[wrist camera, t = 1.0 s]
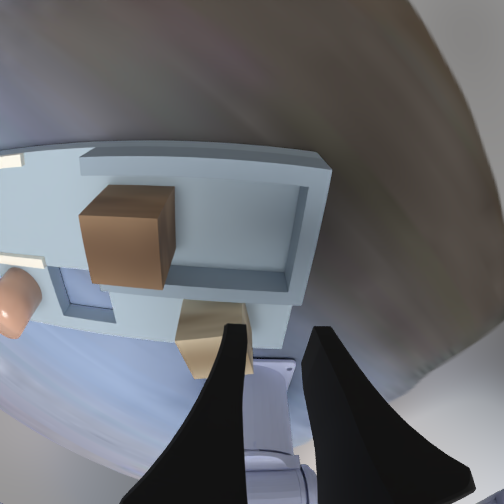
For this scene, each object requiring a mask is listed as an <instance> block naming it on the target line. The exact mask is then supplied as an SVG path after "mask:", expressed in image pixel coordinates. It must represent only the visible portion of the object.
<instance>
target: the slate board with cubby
mask: <svg viewBox="0 0 504 504" xmlns="http://www.w3.org/2000/svg"><path fill="white" fill-rule="evenodd" d="M331 175H332V169H331V168H330V167H329V166H328V164H327V163H326V162H325V161H324V160H323V159H322V158H321V156H320V155H319V154H318V153H317V152H313V151H305V150H297V149H289V148H280V147H270V146H260V145H248V144H235V143H220V142H200V141H167V140H130V141H97V142H79V143H65V144H53V145H42V146H33V147H24V148H16V149H9V150H1V151H0V276H1V278H2V276H3V275H4V274H5V273H6V271H7V270H8V269H9V268H12V267H17V268H21V269H23V270H25V271H26V272H27V273H29V274H30V275H31V276H32V277H33V278H34V279H35V281H36V282H37V283H38V285H39V287H40V289H41V292H42V301H41V303H40V304H39V306H38V307H37V309H36V311H35V312H34V314H33V315H32V317H31V319H30V321H35V322H39V323H44V324H49V325H54V326H59V327H65V328H70V329H76V330H81V331H87V332H93V333H100V334H106V335H113V336H120V337H127V338H135V339H143V340H152V341H161V342H171V343H175V336H176V331H177V326H178V321H179V317H180V312H181V307H182V302H183V299H189V300H203V301H217V302H233V303H245V305H246V309H247V313H248V317H249V321H250V325H251V329H252V347H253V348H263V349H282V345H283V341H284V337H285V333H286V329H287V325H288V321H289V317H290V312H291V308H292V305H296V306H302V302H303V298H304V294H305V290H306V286H307V282H308V278H309V274H310V270H311V266H312V262H313V258H314V253H315V249H316V245H317V240H318V236H319V232H320V227H321V223H322V218H323V213H324V209H325V204H326V199H327V194H328V190H329V185H330V180H331ZM108 185H152V186H175V231H176V250H175V253H174V256H173V259H172V262H171V266H170V269H169V272H168V275H167V278H166V282H165V285H164V288H163V290H154V289H143V288H132V287H122V286H112V285H103V284H99V285H100V289H101V291H105V292H109V295H110V299H111V303H112V308H113V310H112V309H104V308H96V307H89V306H82V305H75V304H70V302H69V299H68V296H67V293H66V289H65V286H64V283H63V280H62V276H61V273H60V269H59V267H63V268H72V269H82V270H89V267H88V263H87V259H86V254H85V249H84V244H83V239H82V234H81V228H80V223H79V217H78V215H79V214H80V213H81V212H82V211H83V210H84V209H85V208H86V207H87V206H88V205H89V204H90V203H91V202H92V200H93V199H94V198H95V197H96V196H97V195H98V194H99V193H100V192H101V191H102V190H103V189H105V188H106V187H107V186H108Z"/></svg>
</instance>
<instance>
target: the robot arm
mask: <svg viewBox="0 0 504 504" xmlns="http://www.w3.org/2000/svg"><path fill="white" fill-rule="evenodd" d="M247 344H248V339H247V326H246V324H233V323H227V324H226V325H224V331H223V336H222V340H221V344H220V347H219V350H218V353H217V356H216V359H215V361H214V364H213V366H212V369H211V371H210V373H209V376H208V378H207V380H206V382H205V384H204V386H203V388H202V390H201V392H200V394H199V396H198V398H197V400H196V402H195V404H194V406H193V407H192V409H191V411H190V413H189V414H188V416H187V418H186V419H185V421H184V422H183V424H182V426H181V427H180V429H179V430H178V432H177V433H176V435H175V436H174V438H173V439H172V440H171V442H170V443H169V445H168V446H167V447H166V449H165V450H164V451H163V453H162V454H161V455H160V456H159V458H158V459H157V460H156V461H155V463H154V464H153V465H152V466H151V467H150V469H149V470H148V471H147V472H146V473H145V475H144V476H143V477H142V478H141V479H140V480H139V481H138V482H137V483H136V484H135V485H134V486H133V487H132V488H131V489H130V490H129V492H128V493H127V494H126V495H125V496H124V497H123V498H122V500H121V502H120V503H119V504H452V503H454V502H456V501H458V500H460V499H462V498H464V497H466V496H467V495H469V494H471V493H473V492H474V491H475V490H476V487H475V484H474V480H473V477H472V474H471V471H470V468H469V467H467V466H465V465H464V464H462V463H460V462H459V461H457V460H455V459H454V458H452V457H450V456H448V455H447V454H445V453H444V452H443V451H441V450H440V449H438V448H437V447H436V446H434V445H433V444H431V443H430V442H429V441H428V440H426V439H425V438H424V437H423V436H422V435H420V434H419V433H418V432H417V431H416V430H414V429H413V428H412V427H411V426H410V425H409V424H407V423H406V421H404V420H403V419H402V418H401V417H400V416H399V415H398V414H397V413H396V411H394V409H393V408H392V407H391V406H390V405H389V404H388V403H387V402H386V401H385V399H384V398H383V397H382V396H381V395H380V394H379V392H378V391H377V390H376V389H375V388H374V386H373V385H372V384H371V383H370V381H369V380H368V379H367V377H366V376H365V375H364V373H363V372H362V371H361V369H360V368H359V367H358V365H357V364H356V362H355V361H354V360H353V358H352V357H351V355H350V354H349V352H348V351H347V350H346V348H345V347H344V345H343V344H342V342H341V341H340V339H339V338H338V336H337V335H336V333H335V332H334V330H333V329H332V328H331V326H314V327H313V330H312V333H311V336H310V339H309V342H308V345H307V348H306V351H305V354H304V357H303V359H302V362H301V366H302V380H303V390H304V395H305V400H306V405H307V410H308V415H309V420H310V425H311V430H312V435H313V440H314V447H315V456H316V470H317V476H316V474H315V472H314V471H313V470H312V469H310V467H309V466H308V465H306V464H301V465H300V460H299V455H294V453H293V444H292V435H291V426H290V417H289V409H288V400H287V390H288V387H289V384H290V381H291V379H292V376H293V373H294V370H295V367H296V362H295V361H294V360H276V359H253V372H254V374H247V375H245V367H246V356H247ZM0 504H3V503H1V502H0ZM476 504H504V489H502V490H501V491H498V492H496V493H494V494H493V495H491V496H489V497H487V498H486V499H484V500H482V501H480V502H478V503H476Z"/></svg>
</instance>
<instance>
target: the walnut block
mask: <svg viewBox="0 0 504 504" xmlns="http://www.w3.org/2000/svg"><path fill="white" fill-rule="evenodd" d="M78 217H79V223H80V228H81V234H82V239H83V244H84V249H85V254H86V259H87V263H88V267H89V272H90V276H91V280H92V283H94V284H103V285H112V286H122V287H132V288H143V289H154V290H163V288H164V285H165V282H166V278H167V275H168V272H169V269H170V266H171V262H172V259H173V256H174V253H175V250H176V231H175V186H152V185H108V186H107V187H106V188H105V189H103V190H102V191H101V192H100V193H99V194H98V195H97V196H96V197H95V198H94V199H93V200H92V202H91V203H90V204H89V205H88V206H87V207H86V208H85V209H84V210H83V211H82V212H81V213H80V214H79V215H78Z"/></svg>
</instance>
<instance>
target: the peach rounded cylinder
mask: <svg viewBox="0 0 504 504" xmlns="http://www.w3.org/2000/svg"><path fill="white" fill-rule="evenodd" d="M41 301H42V292H41V289H40V287H39V285H38V283H37V282H36V281H35V279H34V278H33V277H32V276H31V275H30V274H29V273H27V272H26V271H25V270H23V269H21V268H17V267H12V268H9V269H8V270H7V271H6V273H5V274H4V275H3V276H2V278H1V279H0V333H1V334H2V335H4V336H6V337H8V338H11V339H17V338H19V337H20V335H21V334H22V332H23V330H24V329H25V327H26V325H27V324H28V322H29V320H30V319H31V317H32V315H33V314H34V312H35V311H36V309H37V307H38V306H39V304H40V303H41Z"/></svg>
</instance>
